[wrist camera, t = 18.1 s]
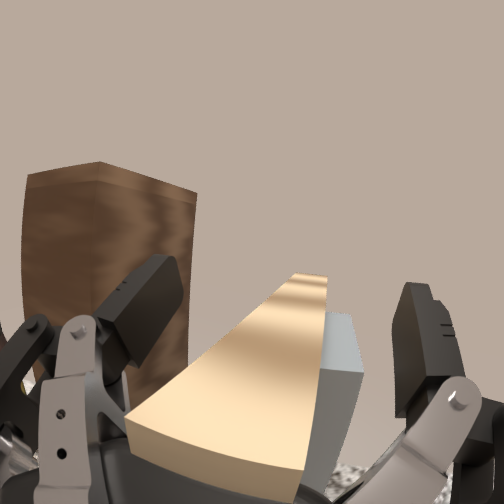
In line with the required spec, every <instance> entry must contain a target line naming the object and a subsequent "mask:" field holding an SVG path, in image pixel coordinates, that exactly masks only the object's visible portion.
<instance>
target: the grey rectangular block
mask: <svg viewBox="0 0 504 504" xmlns="http://www.w3.org/2000/svg"><path fill="white" fill-rule="evenodd" d="M363 375H364V369H363V365H362V360H361V356H360V352H359V348H358V344H357V340H356V336H355V332H354V328H353V324H352V320H351V316H350V314H342V313H332V312H325V321H324V333H323V343H322V353H321V363H320V371H319V380H318V387H317V395H316V402H315V409H314V416H313V422H312V428H311V434H310V440H309V446H308V451H307V456H306V461H305V467H304V471H303V474H302V477H301V480H300V483H301V484H303V485H306V486H308V487H310V488H312V489H314V490H316V491H318V492H319V493H321V494H322V495H323V494H324V491H325V489H326V487H327V484H328V482H329V480H330V477H331V475H332V472H333V470H334V467H335V465H336V462H337V459H338V457H339V454H340V451H341V448H342V446H343V443H344V440H345V437H346V434H347V431H348V428H349V425H350V421H351V418H352V415H353V412H354V408H355V405H356V402H357V398H358V394H359V391H360V387H361V383H362V379H363Z"/></svg>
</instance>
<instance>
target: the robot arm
mask: <svg viewBox="0 0 504 504" xmlns="http://www.w3.org/2000/svg"><path fill="white" fill-rule="evenodd" d="M183 296H184V290H183V285H182V281H181V277H180V273H179V269H178V265H177V261H176V259H175V257H174V256H169V255H161V254H153V255H152V256H151V257H150V258H149V259H148V260H147V261H146V262H145V263H144V264H143V265H141V266H140V267H138V268H136V269H135V270H133V271H132V272H130V273H129V274H128V275H127V276H126V277H125V278H124V280H123V281H122V283H120V284H119V285H118V286H117V287H116V290H113V292H112V293H111V294H110V295H109V296H108V297H107V298H106V299H105V300H104V301H103V303H102V304H101V305H100V306H99V307H98V308H97V309H96V311H95V312H94V313H93V314H92V315H91V316H89V315H79V316H76V317H74V318H72V319H70V320H69V321H68V322H67V323H66V324H65V325H64V326H52V325H51V323H50V322H49V320H48V319H47V317H46V316H45V315H44V314H36V315H33V316H31V317H29V318H28V319H27V320H26V321H25V322H24V323H23V324H22V325H21V326H20V327H19V329H18V330H17V331H16V332H15V333H14V335H13V336H12V337H11V338H10V340H9V341H8V342H7V343H6V345H5V346H4V347H3V348H2V350H1V351H0V504H292V503H286V502H280V501H275V500H269V499H264V498H259V497H254V496H250V495H246V494H241V493H237V492H234V491H230V490H226V489H223V488H219V487H216V486H212V485H209V484H206V483H203V482H200V481H197V480H194V479H191V478H188V477H186V476H183V475H180V474H178V473H175V472H173V471H170V470H168V469H165V468H163V467H160V466H158V465H156V464H153V463H151V462H149V461H147V460H145V459H142V458H140V457H138V456H136V455H134V454H132V453H131V451H130V446H129V442H128V437H127V431H126V426H125V420H124V416H126V415H127V414H128V413H130V412H131V409H130V402H129V395H128V387H127V378H126V373H125V371H124V369H125V367H126V366H127V365H130V366H132V367H135V368H138V369H139V368H140V366H141V365H142V363H143V362H144V360H145V359H146V357H147V356H148V354H149V352H150V351H151V349H152V348H153V346H154V345H155V343H156V342H157V340H158V339H159V337H160V335H161V334H162V332H163V331H164V329H165V328H166V326H167V325H168V323H169V322H170V320H171V319H172V317H173V316H174V314H175V313H176V311H177V310H178V308H179V307H180V305H181V303H182V301H183ZM452 325H453V324H452V321H451V318H450V315H449V312H448V310H447V309H446V308H445V306H444V305H443V304H442V303H441V301H437V300H433V297H432V294H431V291H430V287H429V285H428V284H423V283H412V282H406V284H405V285H404V288H403V291H402V294H401V297H400V301H399V303H398V306H397V310H396V312H395V315H394V318H393V323H392V343H393V357H394V373H395V418H406V428H405V429H404V430H403V431H402V432H401V434H400V435H399V436H398V437H397V439H396V440H395V441H394V442H393V443H392V444H391V446H390V447H389V448H388V449H387V450H386V451H385V452H384V454H383V455H382V456H381V457H380V458H379V459H378V460H377V461H376V463H374V464H373V466H372V467H371V468H370V469H369V470H368V471H367V472H366V473H365V474H363V475H362V476H361V477H360V478H359V479H358V480H357V481H356V482H354V483H353V484H352V485H351V486H350V487H349V488H348V489H347V490H346V491H344V492H343V493H342V494H341V495H340V496H339V497H338V498H337V499H335V500H334V501H333V502H331V501H330V500H328V499H327V498H326V497H325V496H324V495H322V494H321V493H319V492H318V491H316V490H314V489H312V488H310V487H308V486H306V485H303V484H301V483H300V484H299V487H298V489H297V492H296V495H295V498H294V501H293V504H432V503H433V502H434V500H435V499H436V498H437V496H438V495H439V493H440V492H441V491H442V489H443V488H444V486H445V484H446V482H447V479H448V476H447V475H446V471H447V469H448V467H449V466H450V464H451V462H454V467H453V481H452V491H451V499H450V504H504V403H501V402H498V401H494V400H490V399H487V398H484V397H481V393H480V391H479V389H478V387H477V386H476V384H475V383H474V382H472V381H471V380H470V379H468V378H466V376H465V372H464V367H463V363H462V359H461V354H460V350H459V346H458V342H457V339H456V337H455V331H454V328H453V327H452ZM36 360H37V361H38V362H39V363H40V364H41V366H42V367H43V368H44V369H45V371H44V372H43V374H42V375H41V377H40V378H39V380H38V381H37V383H36V384H35V385H34V387H33V388H32V390H31V392H30V393H29V394H28V395H25V394H24V393H23V391H22V389H21V382H22V380H23V378H24V377H25V375H26V374H27V372H28V371H29V370H30V368H31V367H32V365H33V364H34V363H35V361H36ZM37 448H38V453H39V468H38V461H37V460H36V459H35V458H34V457H33V455H34V453H35V451H36V449H37ZM494 458H495V471H494ZM29 470H30V471H29ZM493 477H494V490H493Z"/></svg>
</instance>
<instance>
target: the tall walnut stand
mask: <svg viewBox="0 0 504 504" xmlns="http://www.w3.org/2000/svg"><path fill="white" fill-rule="evenodd" d="M196 201H197V193H196V192H193V191H190V190H187V189H184V188H181V187H178V186H175V185H172V184H169V183H166V182H163V181H160V180H157V179H154V178H151V177H148V176H145V175H142V174H139V173H136V172H132V171H129V170H126V169H123V168H120V167H116V166H113V165H110V164H107V163H103V162H94V163H87V164H81V165H75V166H69V167H63V168H58V169H53V170H48V171H43V172H39V173H34V174H29V175H28V177H27V184H26V191H25V199H24V209H23V221H22V241H21V276H22V296H23V308H24V318H25V321H26V320H27V319H28V318H29V317H31V316H33V315H36V314H44V315H45V316H46V317H47V319H48V320H49V322H50V323H51V325H52V326H64V325H65V324H66V323H67V322H68V321H69V320H70V319H72V318H74V317H76V316H79V315H89V316H91V315H92V314H93V313H94V312H95V311H96V309H97V308H98V307H99V306H100V305H101V304H102V303H103V301H104V300H105V299H106V298H107V297H108V296H109V295H110V294H111V293H112V292H113V290H116V287H117V286H118V285H119V284H120V283H122V281H123V280H124V278H125V277H126V276H127V275H128V274H129V273H130V272H132V271H133V270H135V269H136V268H138V267H140V266H141V265H143V264H144V263H145V262H146V261H147V260H148V259H149V258H150V257H151V256H152V255H153V254H161V255H169V256H174V257H175V259H176V261H177V265H178V269H179V273H180V277H181V281H182V285H183V290H184V296H183V301H182V303H181V305H180V307H179V308H178V310H177V311H176V313H175V314H174V316H173V317H172V319H171V320H170V322H169V323H168V325H167V326H166V328H165V329H164V331H163V332H162V334H161V335H160V337H159V339H158V340H157V342H156V343H155V345H154V346H153V348H152V349H151V351H150V352H149V354H148V356H147V357H146V359H145V360H144V362H143V363H142V365H141V366H140V368H139V369H138V368H135V367H132V366H130V365H127V366H126V367H125V369H124V371H125V373H126V378H127V387H128V395H129V402H130V409H131V411H132V410H134V409H135V408H136V407H138V406H139V405H140V404H142V403H143V402H144V401H145V400H147V399H148V398H149V397H151V396H152V395H153V394H154V393H156V392H157V391H158V390H160V389H161V388H162V387H163V386H165V385H166V384H167V383H168V382H170V381H171V380H172V379H173V378H175V377H176V376H177V375H178V374H180V373H181V372H182V371H183V370H184V369H186V368H187V367H188V327H189V299H190V280H191V263H192V248H193V235H194V222H195V212H196ZM32 368H33V372H34V377H35V381H36V383H37V381H38V380H39V378H40V377H41V375H42V374H43V372H44V371H45V369H44V368H43V367H42V366H41V364H40V363H39V362H38V361H37V360H36V361H35V363H34V364H33V365H32Z"/></svg>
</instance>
